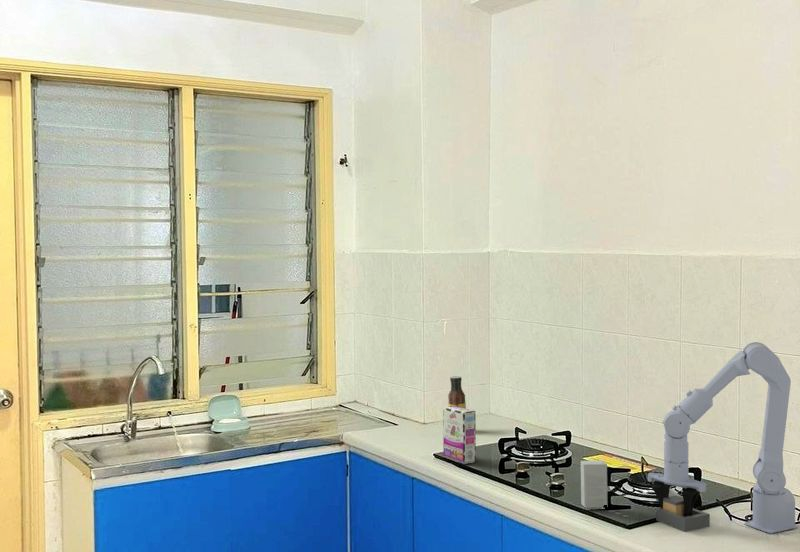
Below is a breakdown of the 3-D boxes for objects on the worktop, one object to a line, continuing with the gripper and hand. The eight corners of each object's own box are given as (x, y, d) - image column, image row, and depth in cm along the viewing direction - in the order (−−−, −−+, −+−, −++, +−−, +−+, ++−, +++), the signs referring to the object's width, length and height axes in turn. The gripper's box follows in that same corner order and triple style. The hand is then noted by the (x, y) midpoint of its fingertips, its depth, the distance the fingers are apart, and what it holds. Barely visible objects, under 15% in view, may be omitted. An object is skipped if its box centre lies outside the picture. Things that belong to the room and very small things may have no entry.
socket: (681, 512, 227) (681, 500, 227) (715, 525, 217) (715, 513, 217) (650, 518, 223) (650, 506, 223) (684, 531, 213) (684, 519, 212)
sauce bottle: (467, 429, 326) (466, 375, 325) (466, 433, 320) (466, 378, 319) (449, 429, 327) (448, 375, 326) (448, 433, 321) (447, 378, 320)
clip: (685, 513, 225) (685, 497, 225) (679, 513, 225) (679, 497, 225) (665, 497, 239) (665, 482, 238) (659, 497, 239) (659, 482, 238)
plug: (676, 517, 224) (676, 495, 223) (689, 522, 220) (689, 499, 219) (663, 519, 222) (663, 497, 221) (675, 524, 218) (675, 502, 217)
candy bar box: (476, 463, 279) (476, 410, 278) (464, 465, 276) (463, 412, 275) (455, 455, 288) (454, 405, 288) (442, 458, 286) (442, 407, 285)
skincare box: (603, 505, 234) (603, 459, 234) (607, 510, 230) (607, 464, 229) (580, 505, 234) (580, 460, 233) (584, 510, 230) (584, 464, 229)
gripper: (711, 462, 218) (711, 517, 218) (657, 452, 228) (657, 505, 229) (698, 468, 213) (698, 524, 213) (643, 457, 223) (643, 511, 224)
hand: (676, 515), depth 221 cm, fingers closed on plug, 5 cm apart
